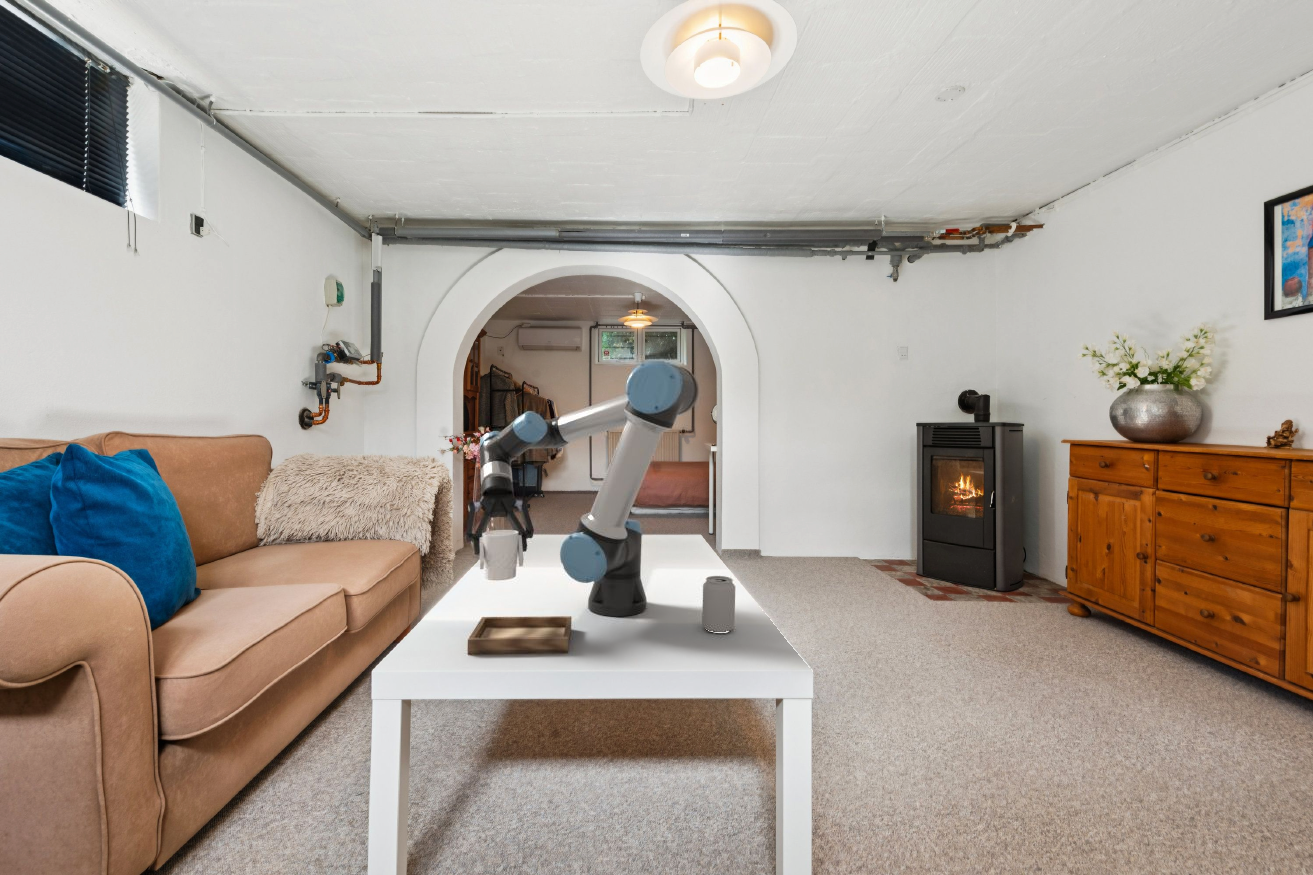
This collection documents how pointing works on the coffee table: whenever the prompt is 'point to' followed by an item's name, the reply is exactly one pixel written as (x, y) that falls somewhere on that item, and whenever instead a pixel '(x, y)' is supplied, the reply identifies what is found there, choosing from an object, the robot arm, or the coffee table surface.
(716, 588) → the can
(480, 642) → the walnut tray
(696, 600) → the coffee table surface
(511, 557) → the white cup
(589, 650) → the coffee table surface
